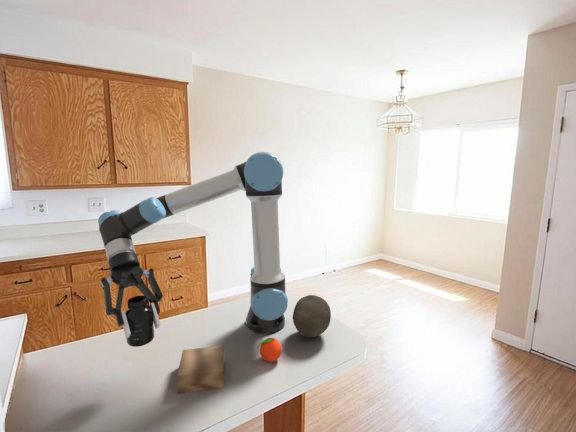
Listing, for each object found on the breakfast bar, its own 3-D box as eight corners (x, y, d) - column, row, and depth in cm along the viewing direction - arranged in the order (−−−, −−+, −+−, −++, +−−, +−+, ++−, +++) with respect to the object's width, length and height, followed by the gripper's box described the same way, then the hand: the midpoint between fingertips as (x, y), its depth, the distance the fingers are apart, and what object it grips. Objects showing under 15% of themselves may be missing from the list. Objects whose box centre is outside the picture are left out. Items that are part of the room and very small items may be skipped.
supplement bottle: (133, 334, 85) (130, 293, 84) (157, 333, 86) (155, 293, 84) (122, 348, 79) (118, 304, 77) (149, 347, 79) (146, 303, 78)
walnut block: (223, 360, 94) (223, 345, 94) (223, 387, 83) (223, 370, 82) (183, 365, 92) (182, 349, 91) (177, 393, 80) (177, 376, 80)
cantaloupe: (284, 331, 113) (285, 293, 110) (316, 323, 119) (318, 287, 117) (304, 351, 100) (305, 308, 98) (338, 341, 107) (340, 301, 104)
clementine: (259, 369, 91) (260, 347, 90) (253, 356, 97) (253, 335, 96) (284, 363, 94) (285, 342, 93) (277, 351, 100) (277, 331, 99)
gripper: (154, 258, 97) (176, 324, 88) (81, 271, 84) (99, 350, 75) (159, 245, 93) (183, 313, 83) (83, 256, 80) (102, 339, 70)
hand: (143, 330), depth 79 cm, fingers closed on supplement bottle, 7 cm apart
